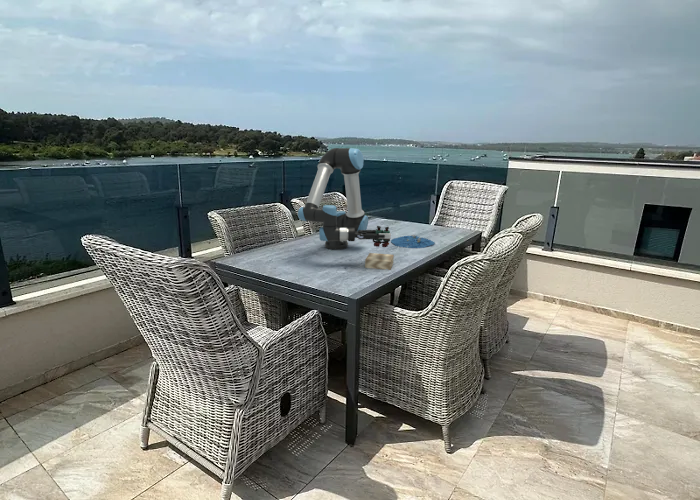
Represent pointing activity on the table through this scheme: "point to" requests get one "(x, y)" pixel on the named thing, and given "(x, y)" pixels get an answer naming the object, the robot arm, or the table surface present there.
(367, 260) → the birch block
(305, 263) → the table surface
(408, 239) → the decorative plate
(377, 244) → the binoculars
